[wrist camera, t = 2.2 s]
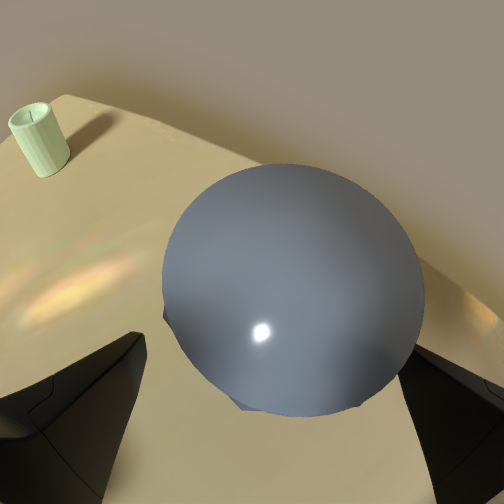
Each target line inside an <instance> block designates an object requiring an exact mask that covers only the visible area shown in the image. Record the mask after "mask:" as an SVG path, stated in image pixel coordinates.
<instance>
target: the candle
mask: <svg viewBox="0 0 504 504" xmlns="http://www.w3.org/2000/svg"><path fill="white" fill-rule="evenodd" d="M8 123H9V124H8V125H9V127H10V129H11V131H12V133H13V135H14V136H15V138H16V140H17V142H18V144H19V146H20V147H21V149H22V151H23V152H24V154H25V156H26V158H27V159H28V161H29V163H30V164H31V166H32V167H33V169H34V171H35V172H36V174H37V175H38V176H39V177H48V176H51V175H53V174H55V173H56V172H58V171H59V170H60V169H61V168H62V167H63V166H64V165H65V164H66V162H67V161H68V159H69V157H70V152H71V151H70V149H69V147H68V144H67V142H66V140H65V138H64V136H63V134H62V131H61V129H60V127H59V124H58V122H57V120H56V117H55V115H54V113H53V110H52V108H51V106H50V105H49V104H47V103H43V102H39V103H33V104H30V105H27V106H25V107H23V108H21V109H19V110H18V111H16V112H15V113H14V114H13V115H12V117H11V118H10V120H9V122H8Z"/></svg>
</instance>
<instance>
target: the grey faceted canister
mask: <svg viewBox="0 0 504 504" xmlns="http://www.w3.org/2000/svg"><path fill="white" fill-rule="evenodd" d="M162 291H163V298H164V304H165V306H164V312H163V318H164V320H165V321H166V322H167V324H168V325H169V326H170V328H171V329H172V331H173V333H174V335H175V337H176V339H177V341H178V343H179V345H180V346H181V348H182V350H183V351H184V353H185V354H186V355H187V357H188V358H189V360H190V361H191V362H192V364H193V365H194V366H195V367H196V368H197V369H198V371H199V372H200V373H201V374H202V375H203V376H204V377H205V378H206V379H207V380H208V381H209V382H211V383H212V384H213V385H215V386H216V387H217V388H218V389H220V390H221V391H222V392H224V393H225V394H227V395H228V396H229V397H230V398H231V400H232V401H233V402H234V403H235V404H236V405H237V406H238V407H239V408H240V409H241V410H245V411H264V412H267V413H272V414H277V415H283V416H289V417H314V416H322V415H329V414H333V413H336V412H340V411H343V410H346V409H349V408H351V407H358V406H361V404H362V403H363V402H364V401H366V400H367V399H369V398H370V397H372V396H373V395H375V394H376V393H378V392H379V391H381V390H382V389H383V388H384V387H385V386H386V385H387V384H388V383H389V382H390V381H392V380H393V379H394V377H395V376H396V375H397V374H398V372H399V371H400V370H401V369H402V367H403V366H404V365H405V363H406V361H407V360H408V358H409V356H410V355H411V353H412V351H413V349H414V346H415V344H416V341H417V339H418V336H419V333H420V329H421V325H422V321H423V313H424V285H423V277H422V272H421V268H420V265H419V261H418V258H417V255H416V253H415V250H414V248H413V246H412V244H411V242H410V240H409V238H408V236H407V234H406V232H405V231H404V229H403V228H402V226H401V225H400V223H399V222H398V221H397V219H396V218H395V217H394V216H393V215H392V213H391V212H390V211H389V210H388V209H387V208H386V207H385V206H384V205H383V204H382V203H381V202H380V201H379V200H378V199H376V198H375V197H374V196H373V195H371V194H370V193H369V192H368V191H366V190H365V189H363V188H362V187H360V186H359V185H357V184H355V183H354V182H352V181H350V180H348V179H346V178H344V177H342V176H339V175H337V174H335V173H332V172H329V171H326V170H323V169H319V168H316V167H310V166H305V165H297V164H270V165H262V166H256V167H252V168H248V169H244V170H242V171H239V172H236V173H234V174H231V175H229V176H227V177H225V178H223V179H221V180H219V181H218V182H216V183H215V184H213V185H212V186H210V187H209V188H207V189H206V190H205V191H204V192H202V193H201V194H200V195H199V196H198V197H197V198H196V199H195V200H194V201H193V202H192V203H191V204H190V205H189V207H188V208H187V209H186V210H185V211H184V213H183V214H182V216H181V218H180V219H179V221H178V222H177V224H176V226H175V228H174V230H173V232H172V234H171V237H170V239H169V242H168V245H167V249H166V252H165V256H164V263H163V271H162Z"/></svg>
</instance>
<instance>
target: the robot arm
mask: <svg viewBox="0 0 504 504" xmlns="http://www.w3.org/2000/svg"><path fill="white" fill-rule="evenodd" d="M146 360H147V349H146V342H145V336H144V334H143V333H139V332H133V331H132V332H130V333H128V334H126V335H124V336H122V337H121V338H119V339H117V340H115V341H113V342H111V343H110V344H108V345H106V346H104V347H102V348H101V349H99V350H97V351H95V352H93V353H91V354H90V355H88V356H86V357H84V358H82V359H80V360H79V361H77V362H75V363H73V364H71V365H69V366H68V367H66V368H64V369H62V370H60V371H58V372H57V373H55V374H54V375H51V376H49V377H47V378H45V379H43V380H41V381H39V382H37V383H35V384H33V385H31V386H29V387H27V388H24V389H22V390H20V391H17V392H15V393H12V394H10V395H7V396H5V397H2V398H0V504H102V499H103V497H104V493H105V490H106V487H107V483H108V480H109V477H110V474H111V470H112V467H113V464H114V461H115V458H116V455H117V452H118V449H119V446H120V443H121V440H122V438H123V435H124V432H125V429H126V426H127V423H128V421H129V418H130V415H131V412H132V410H133V407H134V404H135V402H136V399H137V396H138V392H139V388H140V384H141V380H142V376H143V372H144V368H145V364H146ZM398 377H399V380H400V384H401V387H402V391H403V395H404V398H405V401H406V404H407V407H408V410H409V412H410V415H411V418H412V421H413V423H414V426H415V429H416V432H417V435H418V438H419V441H420V444H421V447H422V450H423V454H424V457H425V460H426V464H427V467H428V471H429V474H430V478H431V482H432V485H433V490H434V494H435V498H436V502H437V504H504V388H502V387H500V386H498V385H496V384H494V383H492V382H490V381H488V380H486V379H483V378H482V377H480V376H478V375H476V374H474V373H472V372H470V371H468V370H466V369H464V368H462V367H460V366H458V365H456V364H454V363H452V362H450V361H448V360H447V359H445V358H443V357H441V356H439V355H437V354H435V353H433V352H431V351H429V350H427V349H425V348H423V347H421V346H419V345H417V344H415V346H414V349H413V351H412V353H411V355H410V356H409V358H408V360H407V361H406V363H405V365H404V366H403V367H402V369H401V370H400V371H399V372H398Z"/></svg>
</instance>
